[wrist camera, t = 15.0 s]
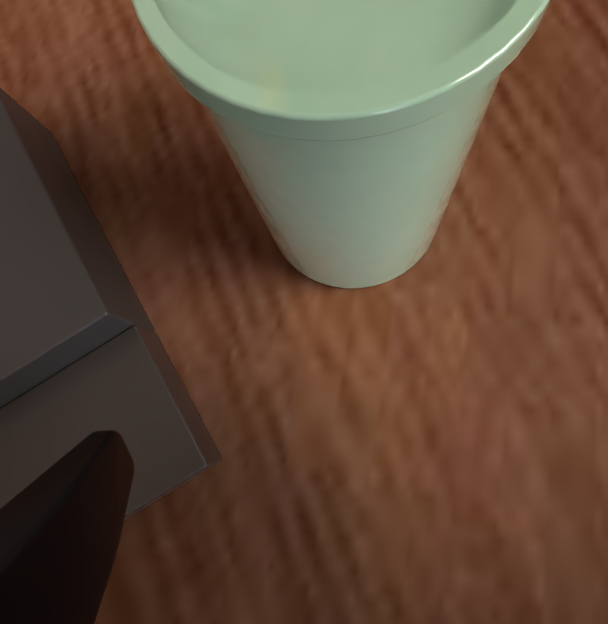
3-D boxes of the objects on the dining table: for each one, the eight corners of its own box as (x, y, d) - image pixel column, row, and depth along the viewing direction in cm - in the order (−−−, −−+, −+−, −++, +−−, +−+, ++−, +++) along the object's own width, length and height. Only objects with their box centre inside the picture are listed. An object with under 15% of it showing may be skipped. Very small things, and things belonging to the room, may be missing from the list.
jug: (459, 287, 15) (621, 83, 6) (265, 303, 16) (117, 145, 6) (430, 61, 17) (516, -389, 8) (257, 84, 18) (131, -298, 8)
